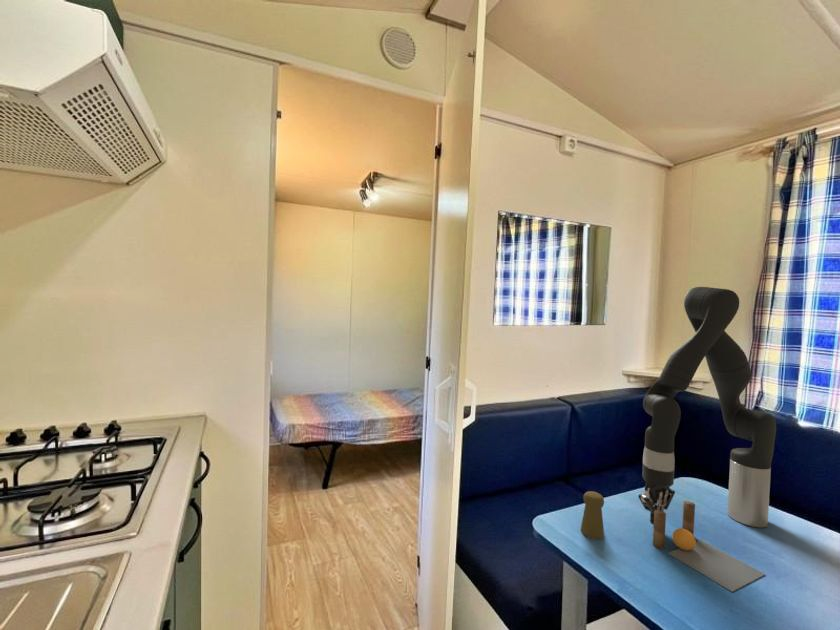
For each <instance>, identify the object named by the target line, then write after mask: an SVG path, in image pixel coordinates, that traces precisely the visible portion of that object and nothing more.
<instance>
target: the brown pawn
mask: <svg viewBox="0 0 840 630" xmlns="http://www.w3.org/2000/svg"><path fill="white" fill-rule="evenodd" d="M583 503H584V504H585V505H584V510H583V515H582V520H581V525H580V532H581V534H583V535H584V536H585V537H587V538H589V539H592V540H593V539H594V540H602V539H603V538H604V537H605V529H604V519H603V508H604V505H605V500H604V497H603V495H602V494H600V493H598V492H597V491H591V490H590V491H589V490H588V491H585V493H584V494H583Z"/></svg>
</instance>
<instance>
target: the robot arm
mask: <svg viewBox="0 0 840 630" xmlns="http://www.w3.org/2000/svg"><path fill="white" fill-rule="evenodd" d="M683 306H684V307H683V308H684V310H685V313H686V316H687V318H688V320H689V322H690V324H691V326H692V328H693V330H694V332H695V334H693V335H692V336H691V337H690V338H689V339H688V340H686V341H685V342H684V343H682V344H681V345H680V346H679V347H677V348H676V349H675V350H674V351H673V352H672V353H671V354H670V355H669V357H668V358H667V361H666V363H665V365H664V367H663V368H662V371H661V373H660V376H659V377H658V378H657V379H656V380H655V382H654V383H653V384H652V385H651V386H650V387H649V389H648V390H647V391H646V393H645V395H644V397H643V400H642V407H643V409H644V411H645V412H646V413H647V414H648V415H650V416H651V417H652V421H651V425H650V426H648V427H647V428H646V429H645V433H644V448H643V453H642V454H643V455H642V474H641V477H642V478H643V480H644V481H645V485H644V493H643V494H641V493H639V494H638V495H637V496H638V499H639V501H640V503H641V504H642V506H643V509H644V510H646V511H647V512H650V513H649V521H650V524H651V525H653V526H654V510H661V511H663V512H665V510H668V508H669V506H670V504H671V502H672V500H673V498H674V496H675V494H676V492H675V490H674V489H672V488H670V487H672V486H674V480H675V462H676V461H675V459H676V458H675V437H676V434H677V431H678V428H679V425H680V422H681V416H682V415H681V413H682V411H681V407H680V405H679V403H678V402H677V401H676V400H675V399H674V398H675V397H676V395H677V394H678V393H679V392H680V393H681V392H685V391H687V389H688V388H689V386H690V385H691V383H692V380H693V378H694V377H695V375H696V373H697V370H698V369H699V366H700V364H701V363H702V361H703V360H704V358H705V360H706V364H707V367H708V370H709V373H710V376H711V379H712V381H713V383H714V387H715V389H716V393H717V395H718V399H719V403H720V408H721V413H722V418H723V423H724V425H725V428H726V430H727V432H728V433H729V434H730V435H731V436H734V437H736V438H740V439H744V440H747V441H750V442H752V445H751V447H737V448H732V449H731V450H730V453H729V455H730V456H729V474H728V475H729V476H728V478H729V479H728V495H727V497H728V499H727V515H728V516H729V517H730V518H731V519H733V520H734V521H736V522H739V523H740V524H743V525H745V526H749V527H753V528H766V527H768V525H769V509H770V507H769V506H770V505H769V504H770V492H771V491H770V489H771V472H772V470H771V469H772V461H773V457H774V452H775V451H774V450H775V441H776V434H777V422H776V419H775V417H774V416H773V415H772V414H770V413H768V412H764V411H759V410H756V409H751V408H746V407H744V406H743V405H742V403H741V399H740V397H741V394H742V393H743V392H744V390H745V389H746V388H747V386H748V385H749V383H750V382H751V380H752V370H751V366H750V364H749V360H748V357H747V355H746V353H745V351H744V350H743V349H742V348H741V346H740V345H739V344H738V343H737V342H736V341H735V340H734V339H733V338H732V337H731V336H730V335H729V334H728V333H727V332H726V329H727V328H728V326H729V325H730V324H731V322H732V321H733V319H734V318H735V316H736V314H737V313H738V311H739V308H740V298H739V296H738V294H737V293H736V292H735V291H734V290H731V289H728V288H719V287H717V288H716V287H709V286H696V287H692V288H691V289H689V290H688V291H687V292H686V294H685V296H684V300H683Z"/></svg>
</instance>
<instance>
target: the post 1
mask: <svg viewBox="0 0 840 630" xmlns="http://www.w3.org/2000/svg"><path fill="white" fill-rule="evenodd" d="M666 518H667V514H666V512H665V511H664V512H663V511H661V510H654V525H653V532H652V533H653V534H652V545H653V547H654V548H657V549H659V550H663V549H665V542H666V523H667V522H666V521H667V519H666Z"/></svg>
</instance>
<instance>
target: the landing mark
mask: <svg viewBox="0 0 840 630" xmlns="http://www.w3.org/2000/svg"><path fill="white" fill-rule="evenodd" d="M668 555H670V556H672V557H673V558H675V559H677V560H678V561H680V562H681V563H683V564H685V565H686V566H689V567H690V568H692V569H693V570H695V571H696V572H698V573H699V574H701V575H703V576H705V577H707V578H708V579H709V580H711V581H713V582H715V583H716V584H718V585H720V586H721V587H723V588H724V589H726V590H727V591H729V592H731V593H733V592H736V591H737V590H739V589H741V588H743V587H745V586H747V585H749V584H751V583H752V582H753V583H754V582H755V581H757V580H758V579H761V578H763V577H764V576H766V573H764V572H762V571H760V570H759V569H756V568H755V567H753V566H751V565H749V564H747V563H746V562H743V561H742V560H740V559H738V558H736V557H734V556H732V555H730V554H728V553H726V552H725V551H722V550H721V549H719V548H717V547H715V546H713V545H711V544H709V543H708V542H706V541H704V540H702V539H699V540H697V541H696V545H695V547H694V548H693V549H692V550H689V551H686V550H683V549H680V548H679V547H678V548H677V549H675V550H672V551H670V552H668Z"/></svg>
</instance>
